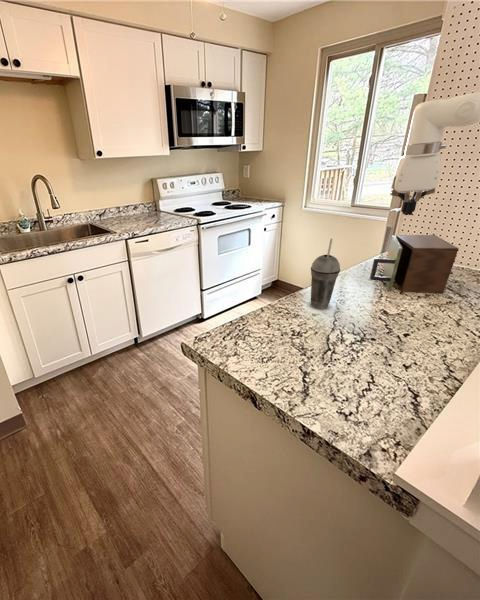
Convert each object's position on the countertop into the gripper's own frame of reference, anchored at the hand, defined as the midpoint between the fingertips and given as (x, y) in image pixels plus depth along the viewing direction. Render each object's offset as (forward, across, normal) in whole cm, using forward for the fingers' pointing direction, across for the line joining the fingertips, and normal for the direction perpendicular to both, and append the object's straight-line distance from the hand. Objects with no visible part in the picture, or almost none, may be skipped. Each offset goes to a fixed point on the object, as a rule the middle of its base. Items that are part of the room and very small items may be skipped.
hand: (406, 214), depth 97 cm
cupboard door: (+20, +6, +6) cm, 22 cm away
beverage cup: (+20, +25, +28) cm, 43 cm away
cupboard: (+21, -4, +6) cm, 22 cm away
